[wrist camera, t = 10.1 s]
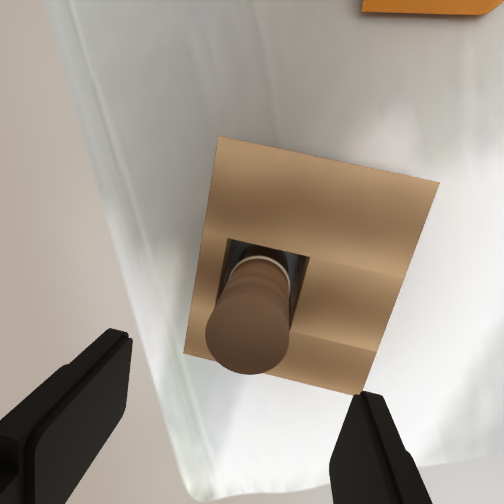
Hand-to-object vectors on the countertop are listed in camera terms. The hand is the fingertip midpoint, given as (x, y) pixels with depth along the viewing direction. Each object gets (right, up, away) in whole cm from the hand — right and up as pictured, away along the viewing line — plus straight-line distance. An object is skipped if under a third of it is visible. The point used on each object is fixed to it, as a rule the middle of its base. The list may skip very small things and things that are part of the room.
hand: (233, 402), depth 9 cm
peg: (+1, +4, +13) cm, 14 cm away
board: (+4, +4, +13) cm, 14 cm away
